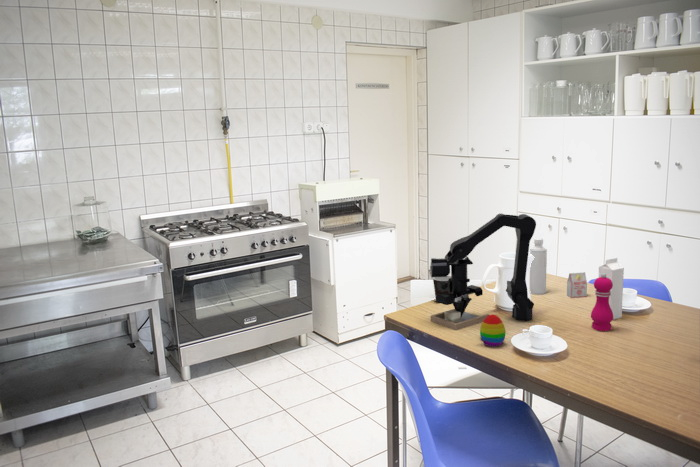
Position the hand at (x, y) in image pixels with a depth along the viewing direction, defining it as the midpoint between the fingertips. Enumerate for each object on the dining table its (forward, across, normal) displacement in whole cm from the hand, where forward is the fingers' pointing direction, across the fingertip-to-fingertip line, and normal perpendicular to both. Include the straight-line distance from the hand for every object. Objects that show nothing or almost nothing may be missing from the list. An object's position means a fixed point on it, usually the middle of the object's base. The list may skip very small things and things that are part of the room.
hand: (459, 317), depth 211 cm
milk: (+3, -47, +30) cm, 56 cm away
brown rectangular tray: (+3, 0, 0) cm, 3 cm away
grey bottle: (+3, -53, -7) cm, 54 cm away
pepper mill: (+3, -34, +35) cm, 49 cm away
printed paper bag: (+3, -60, +7) cm, 61 cm away
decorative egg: (+3, +5, +21) cm, 21 cm away
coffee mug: (+3, -16, -24) cm, 30 cm away
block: (+1, +4, 0) cm, 4 cm away
